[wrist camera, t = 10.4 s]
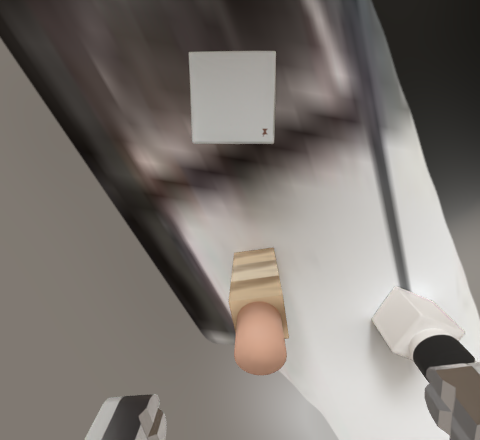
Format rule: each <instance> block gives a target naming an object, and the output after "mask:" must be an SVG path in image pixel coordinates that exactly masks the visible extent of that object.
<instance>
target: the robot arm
mask: <svg viewBox="0 0 480 440" xmlns="http://www.w3.org/2000/svg"><path fill="white" fill-rule="evenodd" d="M426 378H427V379H428V381H429V382H430V383H429V385H428V386H427V387H426V388H425V400H426V404H427V407H428V410H429V412H430V414H431V416H432V418H433V419H434V421H435V423H436V424H437V426H438V427H439V428H441V429H442V430H443V431H445V432H446V433H447V434H449V435H450V438H449V440H480V362H476V363H467V364H464V363H462V364H453V365H444V366H435V367H429V368H428V369H427V370H426ZM159 403H160V401H159V398H158V396H157V394H153V395H137V396H122V397H110V398H108V399H107V400H106V401H105V402H104V403H103V405H102V407H101V409H100V411H99V413H98V415H97V417H96V419H95V421H94V422H93V424H92V426H91V428H90V430H89V432H88V434H87V436H86V438H85V440H165V437H166V426H167V425H166V417H165V415H164V412H163V411H162V410H160V409H159V408H158V406H159Z"/></svg>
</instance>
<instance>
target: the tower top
mask: <svg viewBox="0 0 480 440" xmlns="http://www.w3.org/2000/svg"><path fill="white" fill-rule="evenodd" d="M257 301H261V302H266V303H269V304H271V305H273V306H274V307H276V308H277V310H278V311H279V313H280V315H281V320H282V327H283V333H284V339H287V338H289V335H288V328H287V321H286V314H285V307H284V301H283V294H282V289H281V284H280V279H279V276H271V277H264V278H257V279H249V280H242V281H235V282H231V286H230V294H229V306H230V310H231V315H232V319H233V323H234V328H235V332H236V326H237V316H238V313H239V311H240V310H241V308H242V307H244V306H245V305H247V304H249V303H251V302H257Z"/></svg>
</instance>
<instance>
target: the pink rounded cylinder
mask: <svg viewBox="0 0 480 440" xmlns="http://www.w3.org/2000/svg"><path fill="white" fill-rule="evenodd" d="M234 357H235V361H236V363H237V364H238V365H239V367H240V368H241V369H243V370H244V371H246V372H248V373H251V374H254V375H268V374H271V373H274V372H276V371H278V370H279V369H280V368H281V367H282V366H283V365H284V363H285V361H286V357H287V353H286V347H285V340H284V333H283V327H282V320H281V315H280V313H279V311H278V310H277V308H276V307H274V306H273V305H271V304H269V303H266V302H261V301H257V302H251V303H249V304H247V305H245V306H244V307H242V308H241V310H240V311H239V313H238V316H237V326H236V338H235V351H234Z"/></svg>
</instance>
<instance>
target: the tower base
mask: <svg viewBox="0 0 480 440" xmlns="http://www.w3.org/2000/svg"><path fill="white" fill-rule="evenodd" d="M272 260H276V257H275V252H274V248H267V249H259V250H252V251H244V252H237V253H234V260H233V266H234V265H241V264H249V263H257V262H264V261H272Z"/></svg>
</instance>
